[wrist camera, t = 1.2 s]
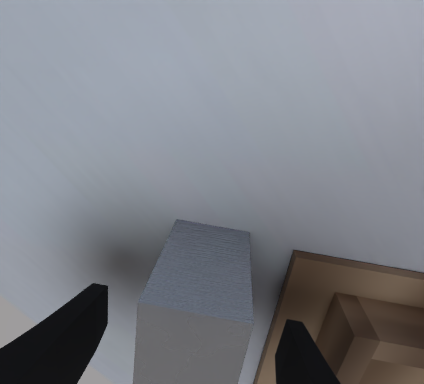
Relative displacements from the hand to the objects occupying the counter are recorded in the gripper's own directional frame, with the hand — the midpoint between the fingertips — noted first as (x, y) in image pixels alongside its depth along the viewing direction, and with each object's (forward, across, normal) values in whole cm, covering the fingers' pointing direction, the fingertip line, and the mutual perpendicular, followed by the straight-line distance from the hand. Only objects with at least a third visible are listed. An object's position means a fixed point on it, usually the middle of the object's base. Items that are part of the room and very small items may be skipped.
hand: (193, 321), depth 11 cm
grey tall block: (+3, 0, 0) cm, 3 cm away
